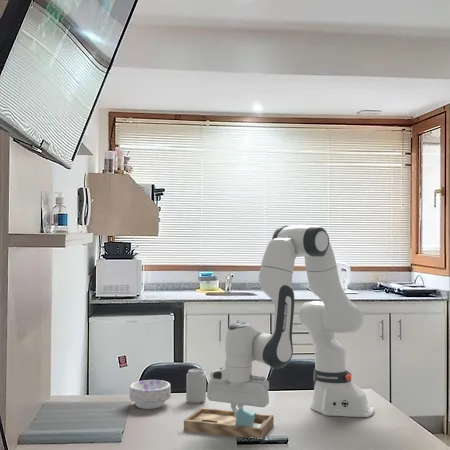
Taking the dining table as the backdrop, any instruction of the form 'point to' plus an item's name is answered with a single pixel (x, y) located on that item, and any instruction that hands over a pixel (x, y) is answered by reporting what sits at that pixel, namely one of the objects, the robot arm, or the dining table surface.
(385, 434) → the dining table surface
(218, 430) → the wooden tray
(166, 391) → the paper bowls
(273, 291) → the robot arm
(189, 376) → the can
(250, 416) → the block
